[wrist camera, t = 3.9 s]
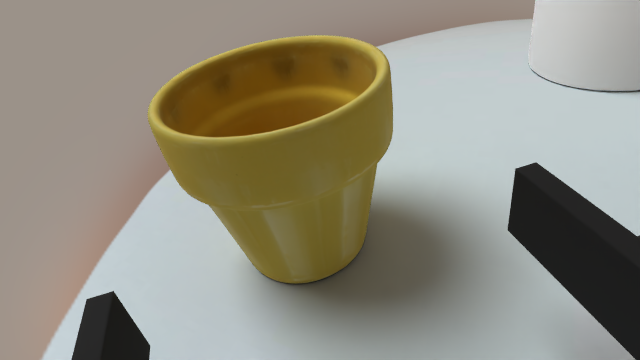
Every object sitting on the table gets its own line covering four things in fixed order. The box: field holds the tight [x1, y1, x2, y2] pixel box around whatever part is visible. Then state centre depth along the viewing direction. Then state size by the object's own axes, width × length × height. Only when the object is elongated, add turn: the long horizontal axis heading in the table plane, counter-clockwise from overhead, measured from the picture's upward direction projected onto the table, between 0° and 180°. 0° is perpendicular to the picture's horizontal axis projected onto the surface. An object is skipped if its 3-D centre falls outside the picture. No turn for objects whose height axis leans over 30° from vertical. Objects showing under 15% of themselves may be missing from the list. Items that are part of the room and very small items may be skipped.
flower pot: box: [148, 35, 393, 284], centre depth 21 cm, size 10×10×10 cm
